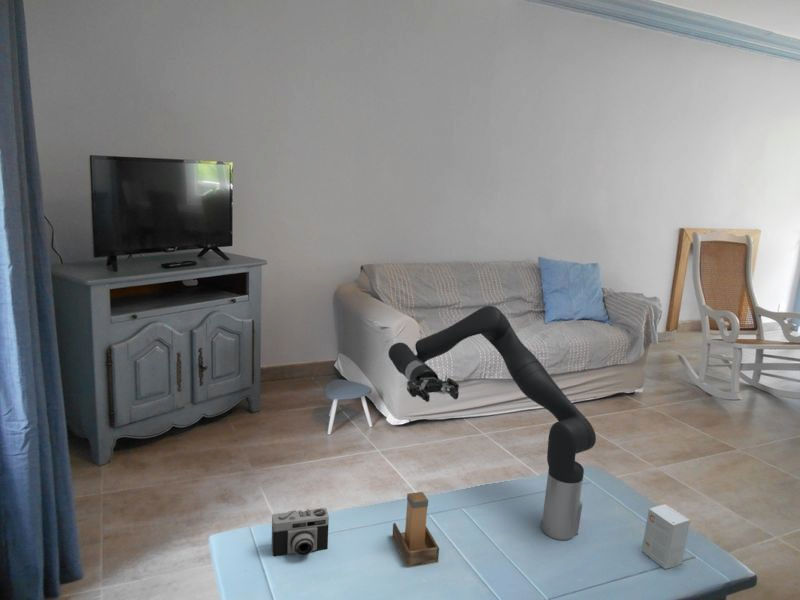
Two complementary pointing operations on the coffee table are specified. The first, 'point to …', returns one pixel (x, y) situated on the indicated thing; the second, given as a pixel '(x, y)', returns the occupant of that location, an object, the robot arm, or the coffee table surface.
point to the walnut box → (416, 556)
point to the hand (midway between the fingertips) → (442, 397)
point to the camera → (300, 532)
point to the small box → (665, 536)
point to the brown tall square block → (416, 520)
